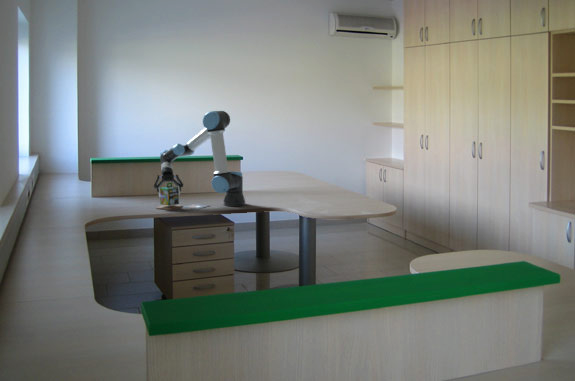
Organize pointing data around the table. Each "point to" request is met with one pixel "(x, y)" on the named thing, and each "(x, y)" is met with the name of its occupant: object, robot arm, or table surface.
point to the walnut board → (169, 207)
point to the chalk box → (169, 195)
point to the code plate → (195, 206)
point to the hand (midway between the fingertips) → (169, 195)
